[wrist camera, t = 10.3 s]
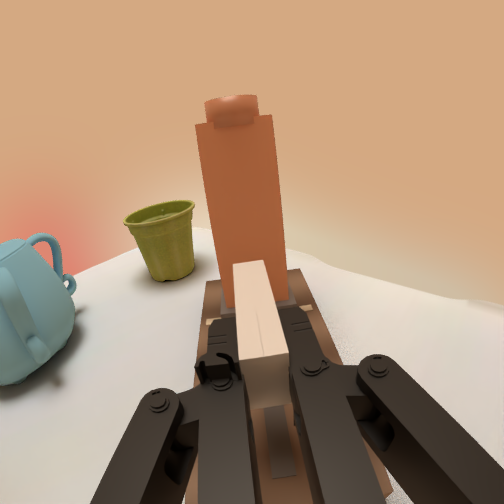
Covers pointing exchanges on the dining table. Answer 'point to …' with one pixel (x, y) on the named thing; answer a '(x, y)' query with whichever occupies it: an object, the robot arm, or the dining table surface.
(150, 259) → the plant pot
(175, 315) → the dining table surface
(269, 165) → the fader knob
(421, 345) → the dining table surface
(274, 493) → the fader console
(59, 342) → the decorative pot
